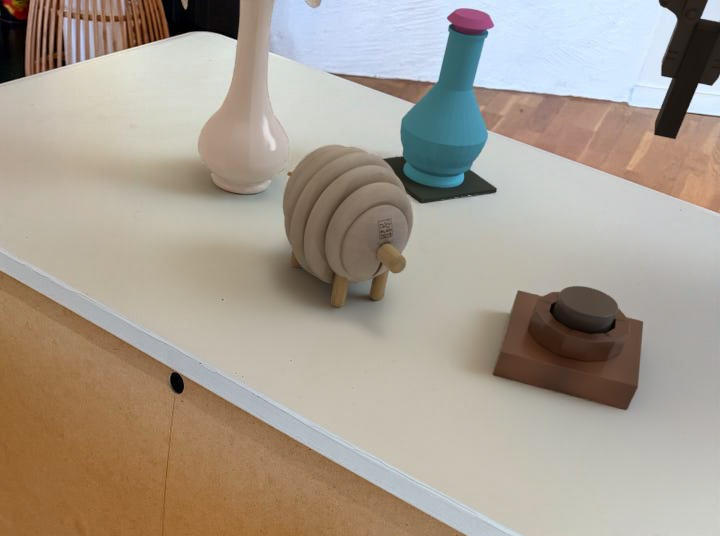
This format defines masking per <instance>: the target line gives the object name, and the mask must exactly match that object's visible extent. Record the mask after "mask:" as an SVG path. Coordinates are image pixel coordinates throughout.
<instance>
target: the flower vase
mask: <svg viewBox="0 0 720 536" xmlns="http://www.w3.org/2000/svg"><path fill="white" fill-rule="evenodd" d="M188 1H189V0H181V4H182V6H183V8H184V10H187V8H188V3H189V2H188ZM304 1H305V3H306V4H307V6H309V7H310V8H312V9H317V8H318V7H320V6H321V4H322V0H304ZM275 2H276V0H239V22H238V30H237V31H238V32H237V40H236V48H235V49H236V50H235V58H234V66H233V71H232V77H231V80H230V81H231V82H230V85H229V88H228V91H227V93H226V96H225V97H224V100H223V102H222V104H221V106H220V107H218V109H217V110H216V111H215V112H214V113H213V114H212V115H211V116H210V117H209V118H208V119H207V121H206V122H205V123H204V124H203V126H202V127H201V129H200V132H199V136H198V141H197V152H198V154H199V157H200V158H201V161H202V162H203V164H204V165H205V167H206V169H208V170H209V171H210V178H211V181H212V182H213V184H214V185H215V186H217V187H218V188H220V189H221V190H224V191H227V192H230V193H234V194H241V195H253V194H257V193H263V192H264V191H266V190H267V189H268V188H269V187H270V185H271V183H272V179H273V178H275V177H276V176H277V175H279V174H280V172H282V170H284V168H285V166H286V165H287V163H288V161H289V159H290V153H291V151H290V141H289V137H288V135H287V132H286V130H285V128H284V126H283V125H282V124H281V122H280V120H279V119H278V118H277V116H276V115H275V112H274V109H273V107H272V102H271V98H270V92H269V83H268V75H269V74H268V73H269V55H270V53H269V52H270V42H271V41H270V40H271V27H272V18H273V13H274V12H273V11H274V7H275Z"/></svg>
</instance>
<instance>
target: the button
mask: <svg viewBox="0 0 720 536" xmlns="http://www.w3.org/2000/svg"><path fill="white" fill-rule="evenodd" d="M559 292H560V293H559V296H558V298H557V301H556V304H555V306H554V309H553V312H552V316H553V317H554V318H555V320H556V321H557V322H559V323H561V324H563V325H564V326H566V327H568V328H570V329H572V330H575V331H579V332H583V333H587V334H603V333H607V332H608V331H609V330H610V328H611V325H612V323H613V321H614V318H615V316H616V314H617V311H618V308H619V305H618V302H617V301H616V300H615V299H614V297H612V296H610V295H609V294H607V293H605V292H603V291H602V290H599V289H596V288H593V287H588V286H583V285H582V286H581V285H573V286H567V287H565V288H563V289H561V290H560V291H559Z"/></svg>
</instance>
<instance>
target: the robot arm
mask: <svg viewBox="0 0 720 536" xmlns="http://www.w3.org/2000/svg"><path fill="white" fill-rule="evenodd" d="M707 3H709V0H658V4H659V6H660V7H662V8H664V9H667V10H668V11H670V12H671V13H673V14H674V15H675V18H676V23H675V25H674V28H673V31H672V33H671V36H670V38H669V40H668V43H667V46H666V48H665V52H664V54H663V56H662V59H661V66H660V69H661V70H660V76H661V77H664V78H669V79H671V80H670V83H669V85H668V88H667V90H666V93H665V95H664V98H663V100H662V104H661V106H660V108H659V111H658V114H657V116H656V118H655V122H654V130H653V131H654V132H653V135H654V136H658V137H661V138H667V139H672V140H676V139H677V136H678V134H679V132H680V129H681V127H682V125H683V122H684V120H685V117H686V115H687V112H688V110H689V108H690V105H691V103H692V100H693V98H694V96H695V94H696V92H697V89H698V86H699V85H705V86H709V87H712V86H713V85H714V84H715V83H716V82H717V81H718V79H719V78H720V20H719V21H716V20H711V19H706V18H702V16H703V14H704V12H705V9H706V7H707Z"/></svg>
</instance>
